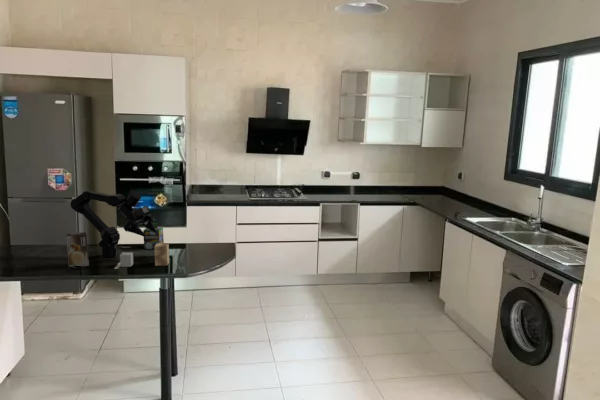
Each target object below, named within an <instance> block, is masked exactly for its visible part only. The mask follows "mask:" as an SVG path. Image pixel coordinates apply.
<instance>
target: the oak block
mask: <svg viewBox="0 0 600 400" xmlns="http://www.w3.org/2000/svg"><path fill="white" fill-rule="evenodd" d="M169 247H170V244H169V243H168V242H166V243H165V242H164V243H156V245H155V246H154V248H155V249H154V266H155V267H157V266H159V267H160V266H162V267H163V266H164V267H165V266H168V265H169V263H170V248H169Z"/></svg>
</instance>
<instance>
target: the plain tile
mask: <svg viewBox="0 0 600 400" xmlns="http://www.w3.org/2000/svg"><path fill="white" fill-rule="evenodd" d="M120 267H121V266H120V262H118V263H117V265H115V267H114V270H115V269H116V270H117V269H119V268H120Z"/></svg>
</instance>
